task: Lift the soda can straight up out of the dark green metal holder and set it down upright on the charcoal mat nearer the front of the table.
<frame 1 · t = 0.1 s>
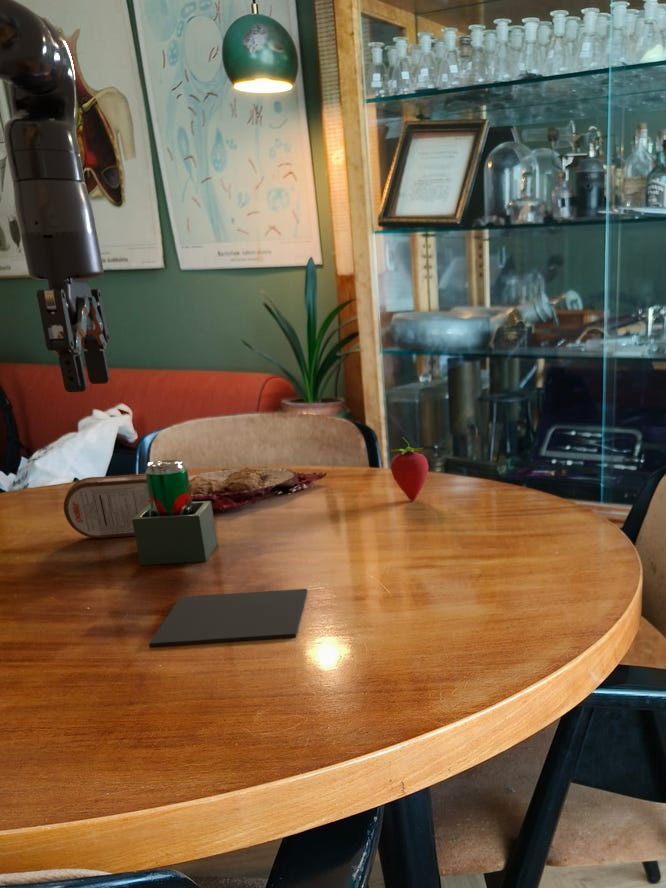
hand: (88, 387, 100), 22 cm above the table, tool pointing down, fingers open, 8 cm apart
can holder: (180, 554, 116), on the table
tin: (127, 536, 126), on the table
strawberry: (411, 501, 140), on the table
plate with food: (227, 494, 150), on the table
soda can: (180, 556, 116), resting in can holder
mat: (234, 617, 92), on the table
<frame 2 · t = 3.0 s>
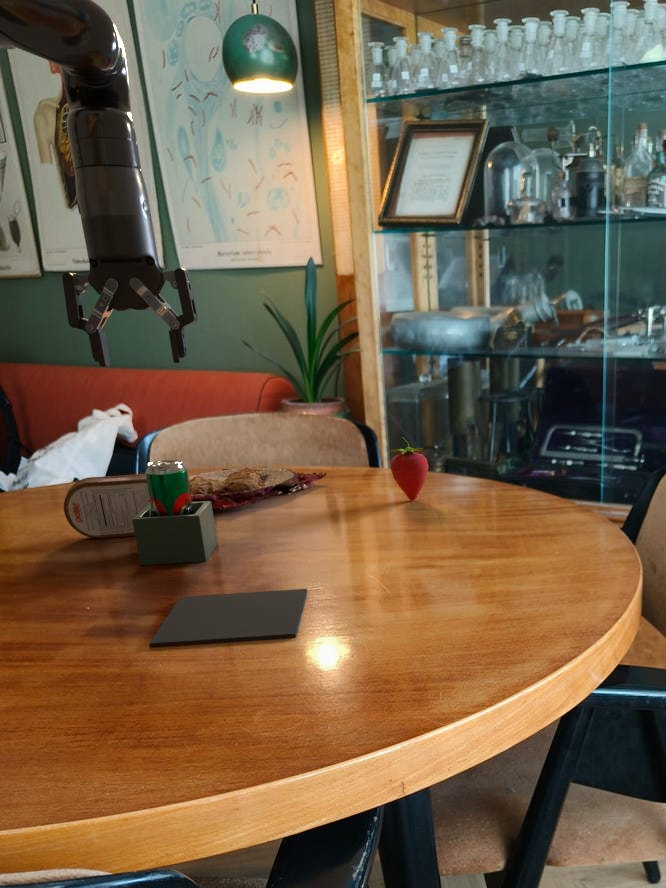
hand: (141, 364, 106), 24 cm above the table, tool pointing down, fingers open, 8 cm apart
nothing on the table moved.
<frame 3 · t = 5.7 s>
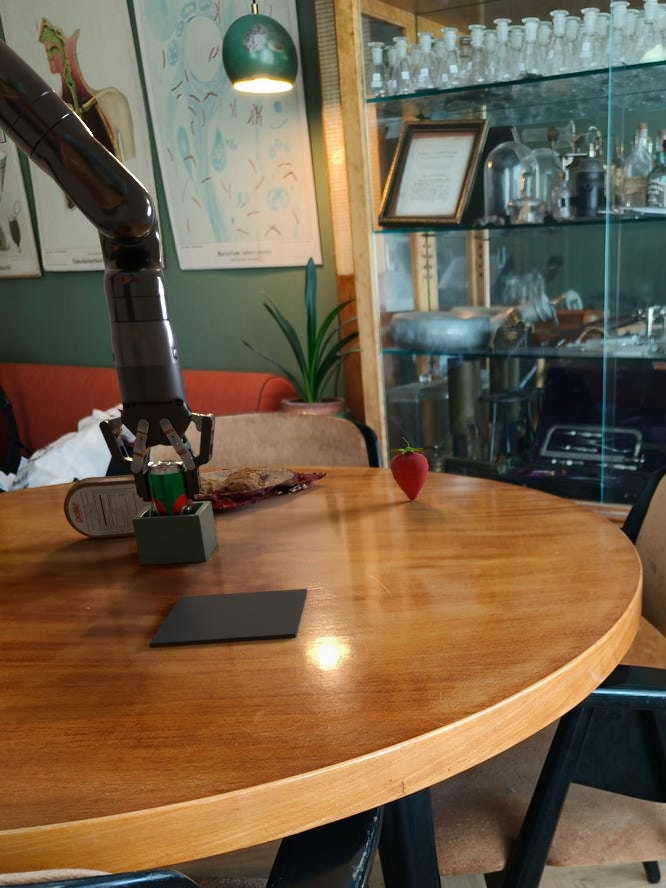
hand: (170, 498, 113), 7 cm above the table, tool pointing down, fingers closed on soda can, 5 cm apart
soda can: (180, 556, 116), resting in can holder, touching gripper
everything else where it was.
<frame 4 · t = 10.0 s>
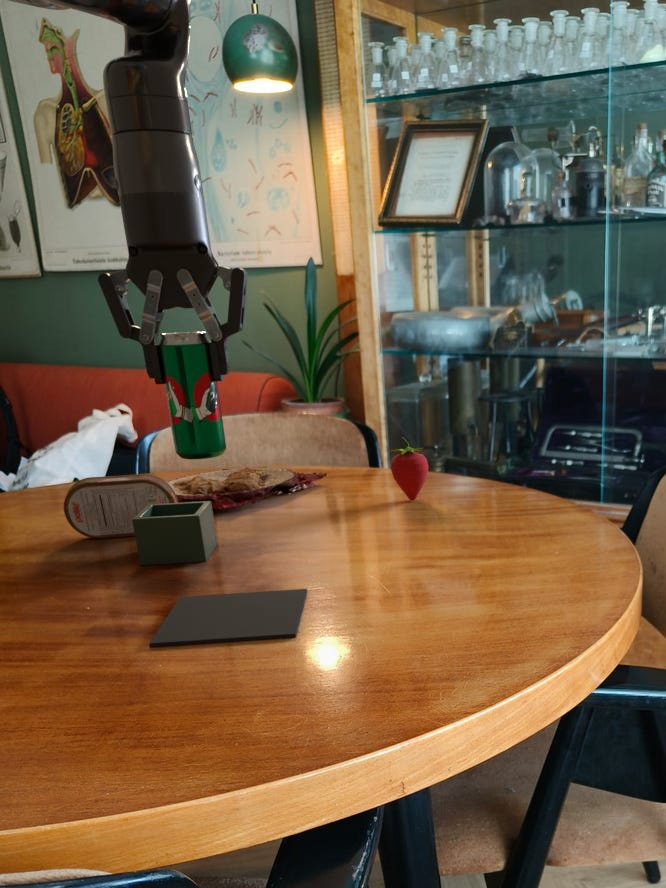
hand: (190, 381, 88), 23 cm above the table, tool pointing down, fingers closed on soda can, 5 cm apart
soda can: (202, 457, 91), point 16 cm above the table, touching gripper
everything else where it was.
when the fingers open (8 cm above the table, at t = 14.4 s): soda can stays where it is, resting on mat.
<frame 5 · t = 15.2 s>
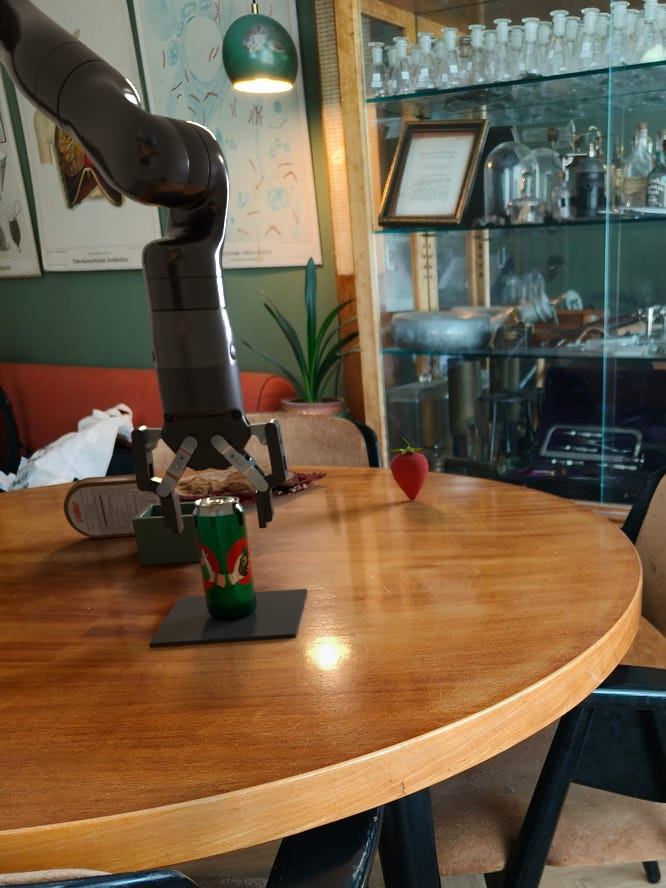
hand: (221, 529, 89), 10 cm above the table, tool pointing down, fingers open, 8 cm apart
soda can: (233, 615, 92), resting on mat
everything else where it was.
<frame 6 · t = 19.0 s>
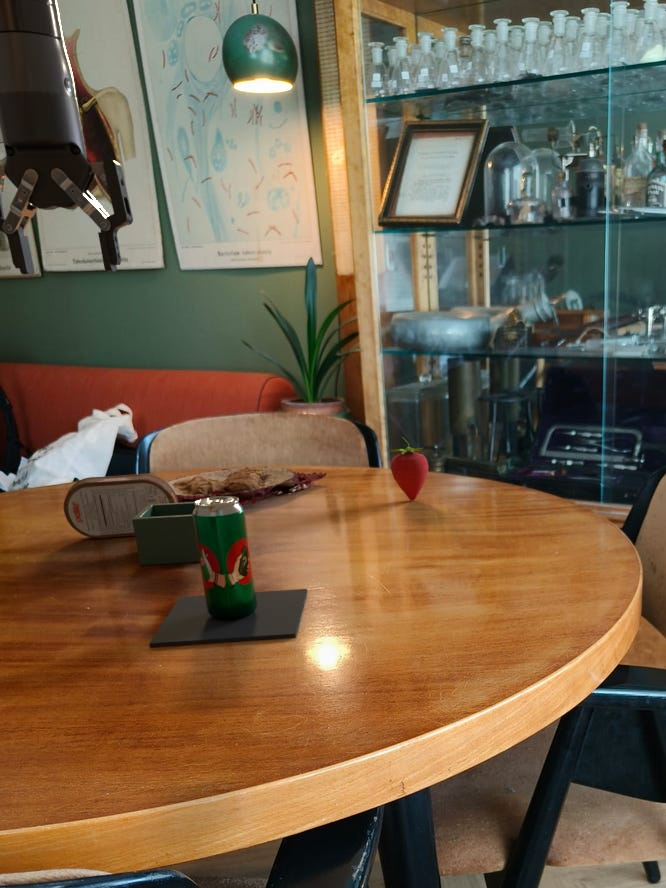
hand: (69, 272, 93), 34 cm above the table, tool pointing down, fingers open, 8 cm apart
nothing on the table moved.
at the end: soda can inside the target area on the mat (0.1 cm from its centre), point 0.2 cm above the mat's base; soda can tilted 0°; soda can touching mat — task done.
